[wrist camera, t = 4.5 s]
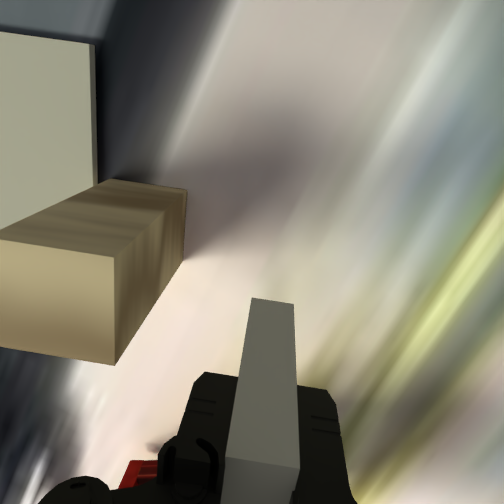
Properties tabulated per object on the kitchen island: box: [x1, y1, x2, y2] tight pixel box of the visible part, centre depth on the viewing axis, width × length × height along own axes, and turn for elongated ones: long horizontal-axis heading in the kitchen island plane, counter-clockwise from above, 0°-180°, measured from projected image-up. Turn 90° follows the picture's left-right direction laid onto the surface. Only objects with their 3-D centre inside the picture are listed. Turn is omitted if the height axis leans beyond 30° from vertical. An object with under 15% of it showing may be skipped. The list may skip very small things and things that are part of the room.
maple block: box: [0, 178, 187, 366], centre depth 19 cm, size 4×4×10 cm
